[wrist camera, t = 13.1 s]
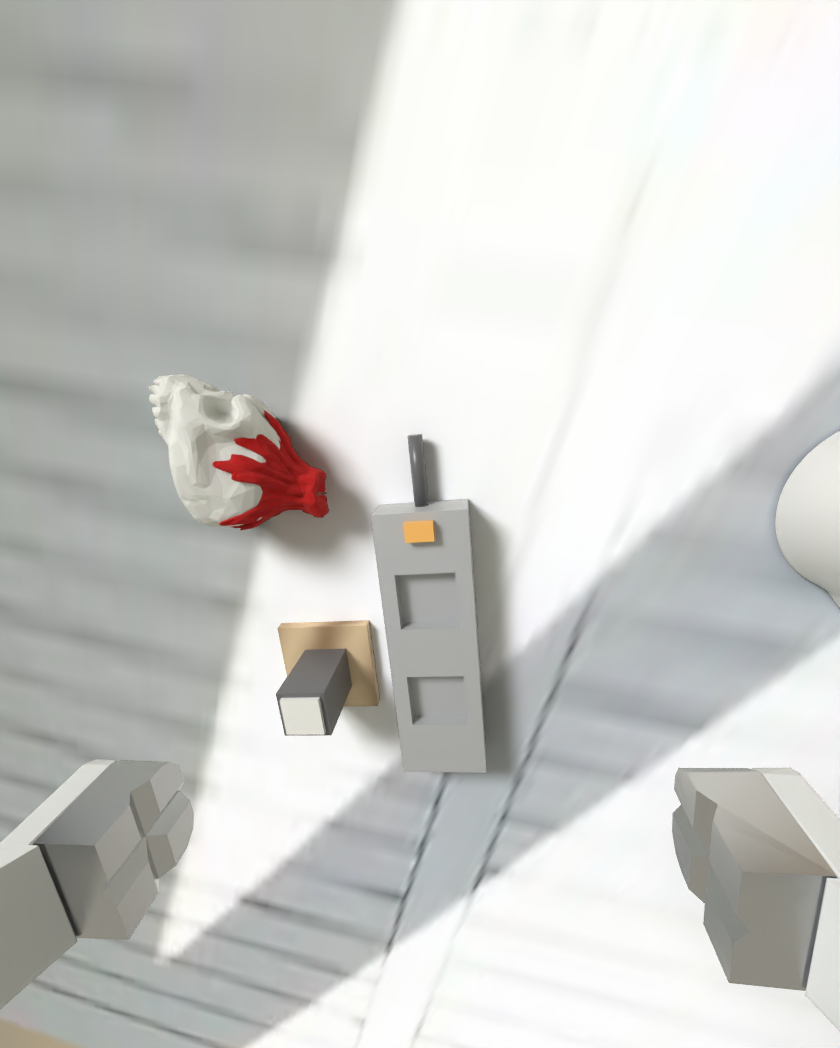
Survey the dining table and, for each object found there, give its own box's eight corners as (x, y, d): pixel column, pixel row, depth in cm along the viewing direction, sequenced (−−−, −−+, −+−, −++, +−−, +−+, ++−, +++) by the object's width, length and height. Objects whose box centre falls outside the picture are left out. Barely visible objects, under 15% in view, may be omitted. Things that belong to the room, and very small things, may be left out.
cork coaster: (368, 620, 45) (366, 625, 45) (379, 699, 48) (377, 705, 47) (281, 623, 47) (277, 628, 46) (296, 700, 49) (293, 706, 48)
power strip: (463, 429, 39) (461, 434, 35) (485, 744, 48) (486, 779, 44) (371, 438, 40) (358, 443, 36) (409, 744, 49) (402, 778, 45)
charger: (346, 648, 45) (321, 696, 38) (352, 685, 47) (329, 738, 40) (305, 649, 46) (273, 696, 39) (312, 686, 47) (283, 738, 40)
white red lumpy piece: (190, 368, 40) (358, 423, 42) (170, 489, 43) (326, 536, 45) (128, 367, 32) (342, 436, 33) (109, 517, 35) (304, 574, 36)
